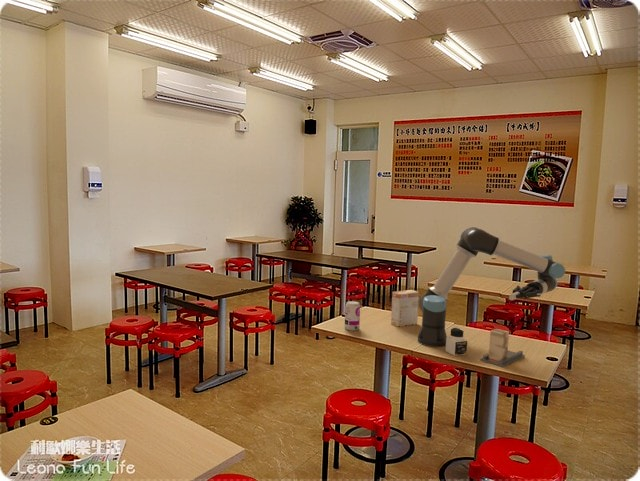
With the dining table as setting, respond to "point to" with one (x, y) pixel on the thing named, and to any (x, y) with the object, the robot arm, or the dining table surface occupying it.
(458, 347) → the medicine bottle
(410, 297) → the coffeecake box
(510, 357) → the guide track
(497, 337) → the birch block
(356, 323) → the supplement can
